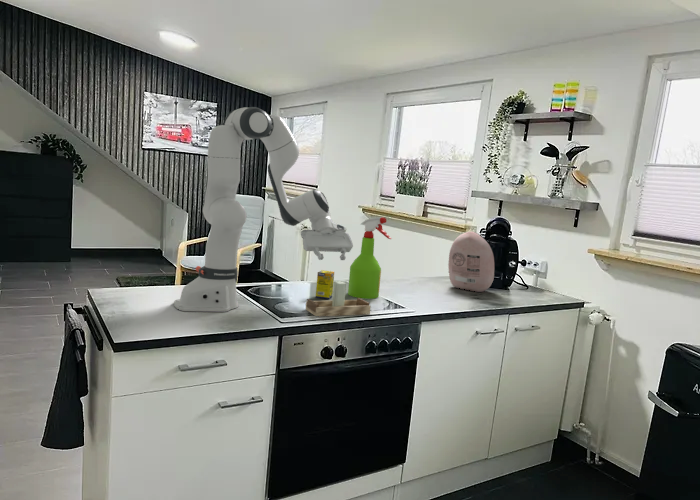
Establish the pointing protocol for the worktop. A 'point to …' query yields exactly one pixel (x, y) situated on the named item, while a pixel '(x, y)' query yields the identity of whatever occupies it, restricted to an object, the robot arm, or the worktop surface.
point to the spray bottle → (367, 264)
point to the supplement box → (324, 284)
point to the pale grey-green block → (339, 293)
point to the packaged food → (471, 263)
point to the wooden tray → (338, 308)
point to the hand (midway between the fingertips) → (332, 259)
